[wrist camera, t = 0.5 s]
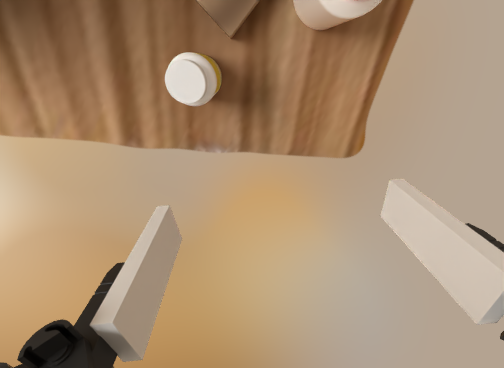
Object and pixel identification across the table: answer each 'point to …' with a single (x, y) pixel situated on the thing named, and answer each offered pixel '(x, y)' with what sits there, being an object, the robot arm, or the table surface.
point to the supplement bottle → (193, 78)
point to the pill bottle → (331, 11)
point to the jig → (228, 12)
